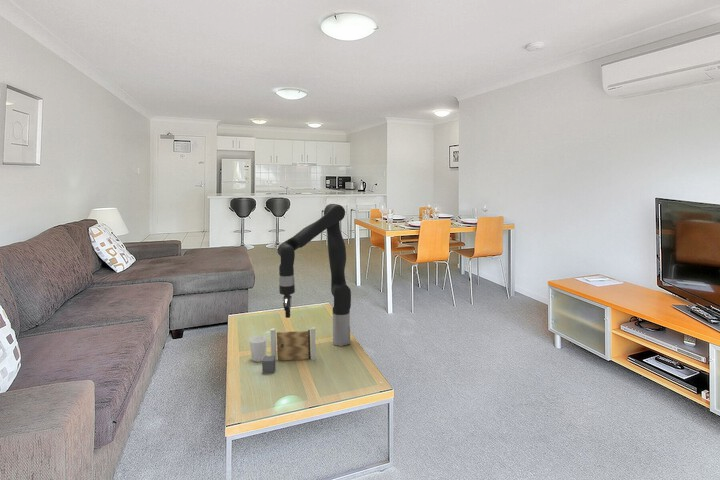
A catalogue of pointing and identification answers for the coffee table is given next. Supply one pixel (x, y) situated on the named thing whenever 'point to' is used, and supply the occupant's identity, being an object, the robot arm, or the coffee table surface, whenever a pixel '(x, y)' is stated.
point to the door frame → (313, 346)
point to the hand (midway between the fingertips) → (287, 317)
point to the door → (293, 345)
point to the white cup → (258, 348)
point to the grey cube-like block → (268, 364)
